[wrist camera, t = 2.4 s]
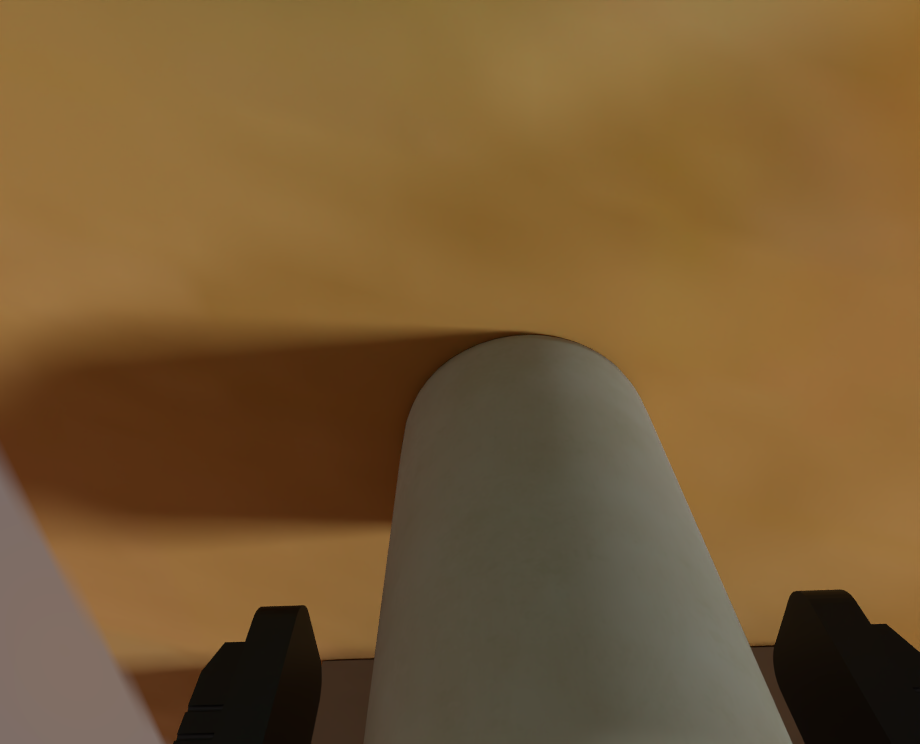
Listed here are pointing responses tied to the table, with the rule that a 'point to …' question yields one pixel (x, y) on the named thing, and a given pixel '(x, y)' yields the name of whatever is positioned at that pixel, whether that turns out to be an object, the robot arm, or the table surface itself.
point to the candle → (552, 570)
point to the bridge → (351, 683)
